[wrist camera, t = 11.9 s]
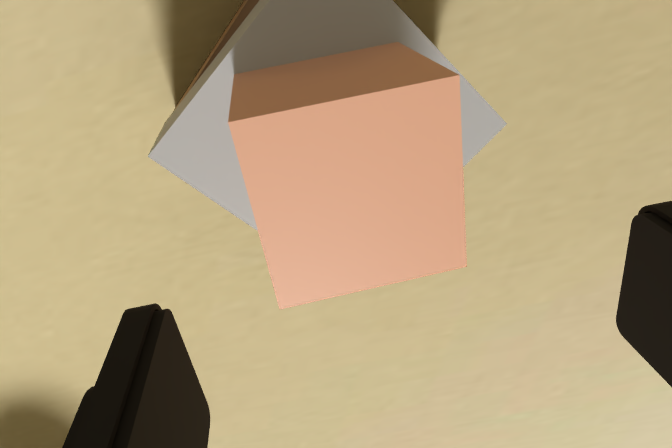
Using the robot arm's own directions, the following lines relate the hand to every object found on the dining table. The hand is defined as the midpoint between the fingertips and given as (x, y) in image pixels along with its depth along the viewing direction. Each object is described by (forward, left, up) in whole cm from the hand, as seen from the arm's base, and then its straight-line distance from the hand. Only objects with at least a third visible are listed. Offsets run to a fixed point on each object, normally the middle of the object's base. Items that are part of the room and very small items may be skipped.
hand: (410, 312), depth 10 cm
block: (0, 0, -11) cm, 11 cm away
